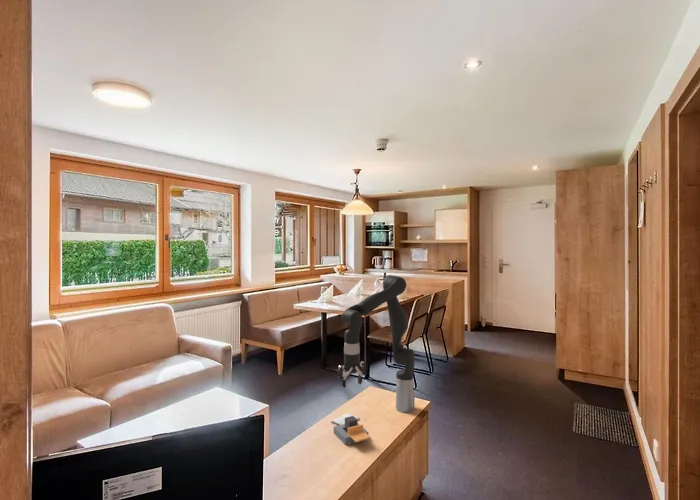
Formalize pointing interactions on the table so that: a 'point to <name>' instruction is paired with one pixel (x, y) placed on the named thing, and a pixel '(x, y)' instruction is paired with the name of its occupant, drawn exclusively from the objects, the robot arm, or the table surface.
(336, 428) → the socket
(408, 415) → the table surface
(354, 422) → the plug
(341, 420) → the hard drive
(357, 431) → the panel
